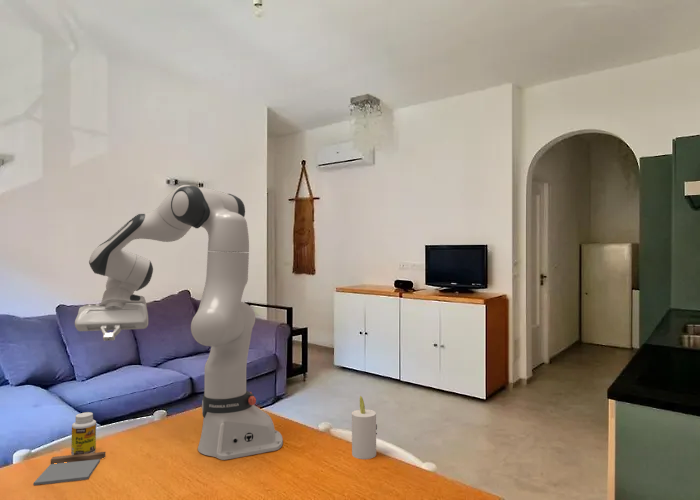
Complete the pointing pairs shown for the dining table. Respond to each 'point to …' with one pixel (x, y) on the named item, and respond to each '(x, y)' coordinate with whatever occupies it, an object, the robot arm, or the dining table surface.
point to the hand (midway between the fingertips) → (108, 339)
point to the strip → (78, 457)
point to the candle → (364, 432)
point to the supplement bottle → (83, 434)
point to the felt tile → (67, 472)
